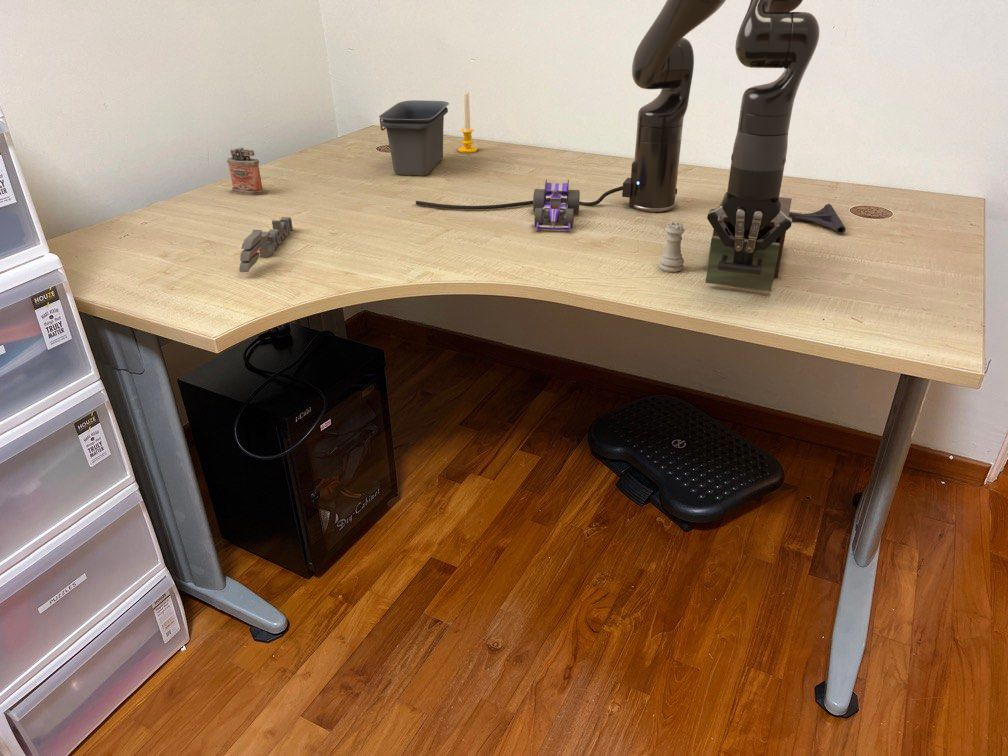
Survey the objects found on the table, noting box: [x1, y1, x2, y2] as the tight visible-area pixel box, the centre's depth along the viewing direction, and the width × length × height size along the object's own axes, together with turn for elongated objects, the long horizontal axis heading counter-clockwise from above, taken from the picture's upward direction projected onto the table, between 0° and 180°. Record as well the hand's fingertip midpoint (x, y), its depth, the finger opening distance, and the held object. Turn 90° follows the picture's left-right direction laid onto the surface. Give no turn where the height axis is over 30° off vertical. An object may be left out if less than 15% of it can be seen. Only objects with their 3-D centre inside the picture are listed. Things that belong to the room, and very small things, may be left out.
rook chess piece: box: [657, 221, 686, 273], centre depth 132 cm, size 4×4×8 cm
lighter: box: [226, 146, 265, 196], centre depth 174 cm, size 8×3×10 cm, turn 68°
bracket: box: [789, 203, 846, 235], centre depth 154 cm, size 14×15×3 cm
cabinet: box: [712, 191, 793, 279], centre depth 135 cm, size 15×12×10 cm
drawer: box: [705, 222, 780, 292], centre depth 126 cm, size 18×10×8 cm, turn 159°
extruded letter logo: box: [239, 216, 294, 273], centre depth 141 cm, size 25×2×6 cm, turn 177°
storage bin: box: [378, 99, 450, 177], centre depth 190 cm, size 21×16×14 cm
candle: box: [458, 91, 478, 154], centre depth 204 cm, size 5×5×16 cm
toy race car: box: [532, 178, 581, 233], centre depth 155 cm, size 10×15×6 cm, turn 174°
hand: (740, 272), depth 120 cm, fingers closed
